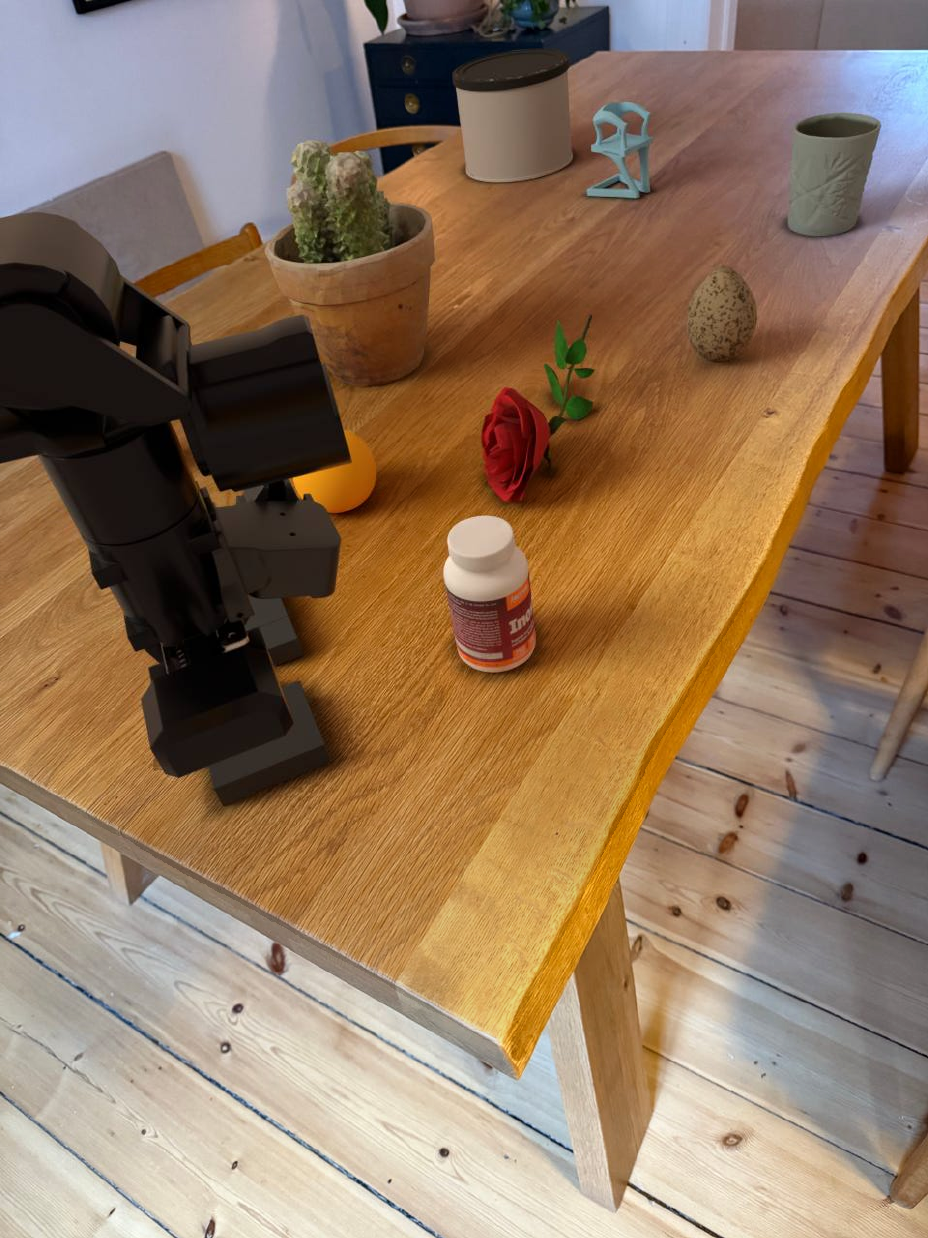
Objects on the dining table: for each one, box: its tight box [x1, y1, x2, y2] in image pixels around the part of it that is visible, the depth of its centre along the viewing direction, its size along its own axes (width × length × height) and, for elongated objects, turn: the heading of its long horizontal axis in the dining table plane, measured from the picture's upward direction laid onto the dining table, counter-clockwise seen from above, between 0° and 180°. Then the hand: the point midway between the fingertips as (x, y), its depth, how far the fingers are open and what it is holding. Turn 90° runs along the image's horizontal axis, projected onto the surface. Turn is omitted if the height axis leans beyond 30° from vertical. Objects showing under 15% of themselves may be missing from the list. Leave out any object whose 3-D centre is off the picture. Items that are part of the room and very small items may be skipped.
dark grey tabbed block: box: [207, 679, 332, 806], centre depth 65 cm, size 8×10×2 cm
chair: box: [586, 101, 654, 199], centre depth 133 cm, size 8×8×12 cm
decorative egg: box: [685, 265, 758, 362], centre depth 93 cm, size 7×7×10 cm
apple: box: [292, 429, 377, 514], centre depth 84 cm, size 8×8×8 cm
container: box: [451, 48, 574, 183], centre depth 149 cm, size 19×19×15 cm
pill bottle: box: [442, 515, 537, 673], centre depth 66 cm, size 6×6×11 cm
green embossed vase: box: [787, 112, 882, 237], centre depth 114 cm, size 10×10×12 cm
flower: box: [480, 314, 596, 503], centre depth 89 cm, size 9×10×30 cm
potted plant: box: [264, 139, 436, 388], centre depth 98 cm, size 18×19×25 cm
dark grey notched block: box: [245, 594, 305, 667], centre depth 74 cm, size 10×10×2 cm
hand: (241, 721), depth 52 cm, fingers closed
